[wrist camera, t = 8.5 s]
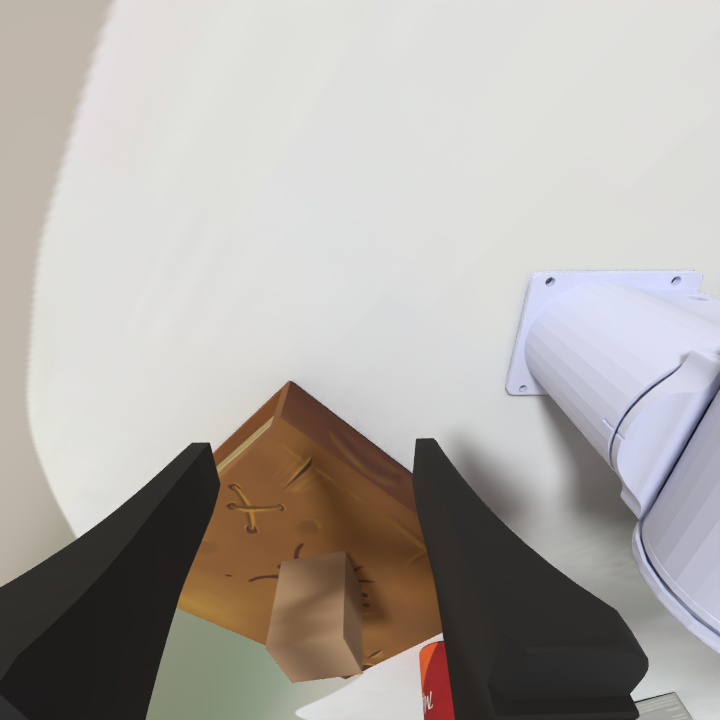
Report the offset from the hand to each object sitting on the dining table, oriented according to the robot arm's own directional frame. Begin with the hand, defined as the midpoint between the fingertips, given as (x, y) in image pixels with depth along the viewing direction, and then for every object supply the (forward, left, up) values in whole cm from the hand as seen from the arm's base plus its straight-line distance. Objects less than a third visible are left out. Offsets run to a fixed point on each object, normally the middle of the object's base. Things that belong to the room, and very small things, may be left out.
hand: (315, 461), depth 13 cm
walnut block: (+1, +16, -6) cm, 17 cm away
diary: (+1, +18, -11) cm, 21 cm away
